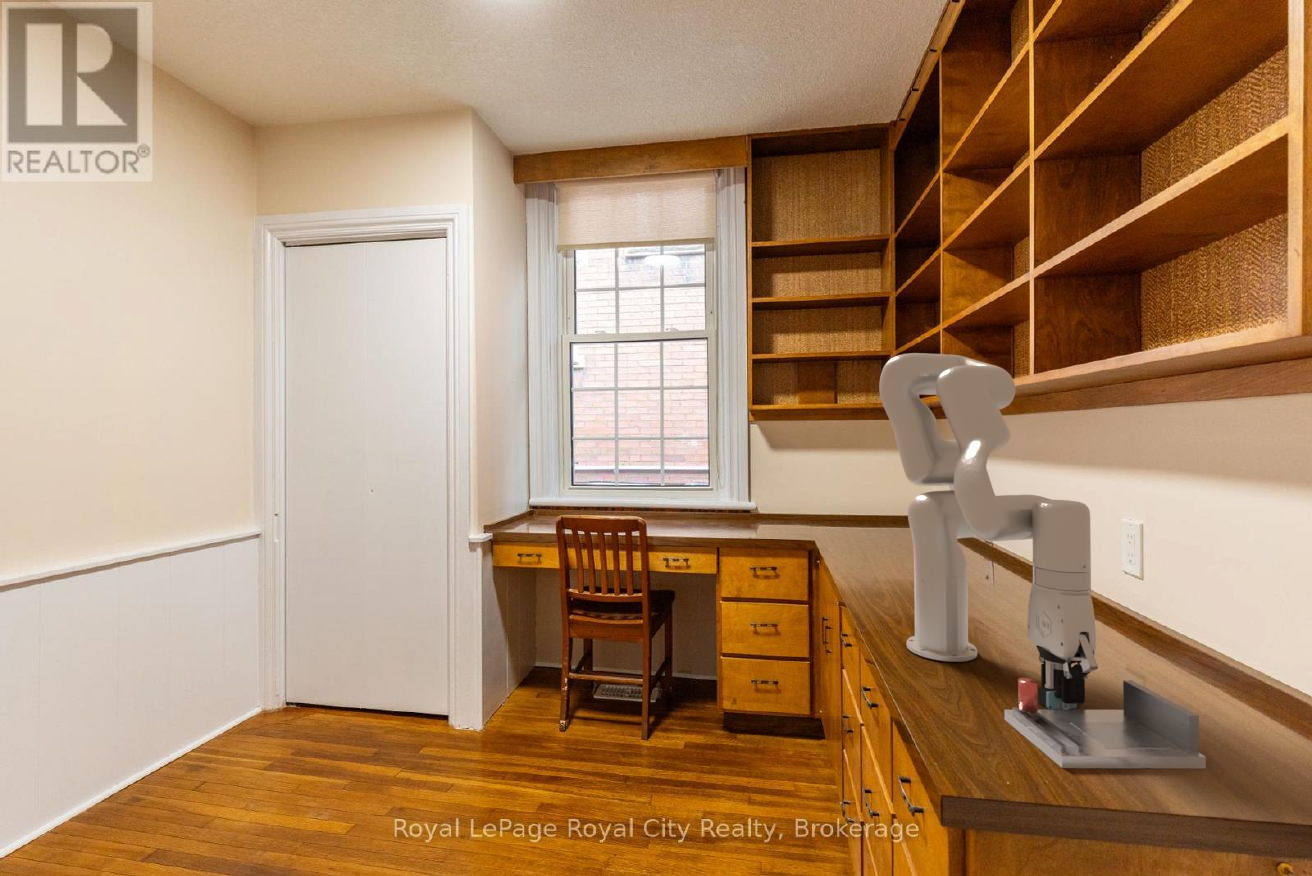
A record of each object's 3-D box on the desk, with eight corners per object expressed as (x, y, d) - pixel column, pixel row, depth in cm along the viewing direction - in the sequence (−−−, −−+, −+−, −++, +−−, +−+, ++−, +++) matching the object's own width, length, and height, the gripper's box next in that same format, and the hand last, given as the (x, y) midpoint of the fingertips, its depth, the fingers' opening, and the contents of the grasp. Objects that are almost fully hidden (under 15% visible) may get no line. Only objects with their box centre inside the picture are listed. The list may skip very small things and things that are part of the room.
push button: (1069, 697, 96) (1068, 636, 96) (1096, 713, 90) (1095, 647, 90) (1030, 699, 95) (1029, 637, 95) (1055, 715, 90) (1054, 649, 90)
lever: (1013, 710, 88) (1013, 677, 88) (1030, 710, 88) (1029, 677, 88) (1025, 720, 85) (1025, 685, 85) (1042, 720, 85) (1042, 685, 85)
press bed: (1004, 719, 89) (1004, 676, 89) (1126, 719, 88) (1126, 676, 88) (1061, 768, 76) (1061, 717, 76) (1205, 768, 75) (1205, 717, 75)
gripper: (1006, 567, 101) (1007, 674, 101) (1073, 593, 85) (1074, 721, 85) (1051, 567, 101) (1052, 674, 101) (1126, 593, 84) (1128, 721, 84)
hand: (1062, 694), depth 93 cm, fingers open, 4 cm apart
